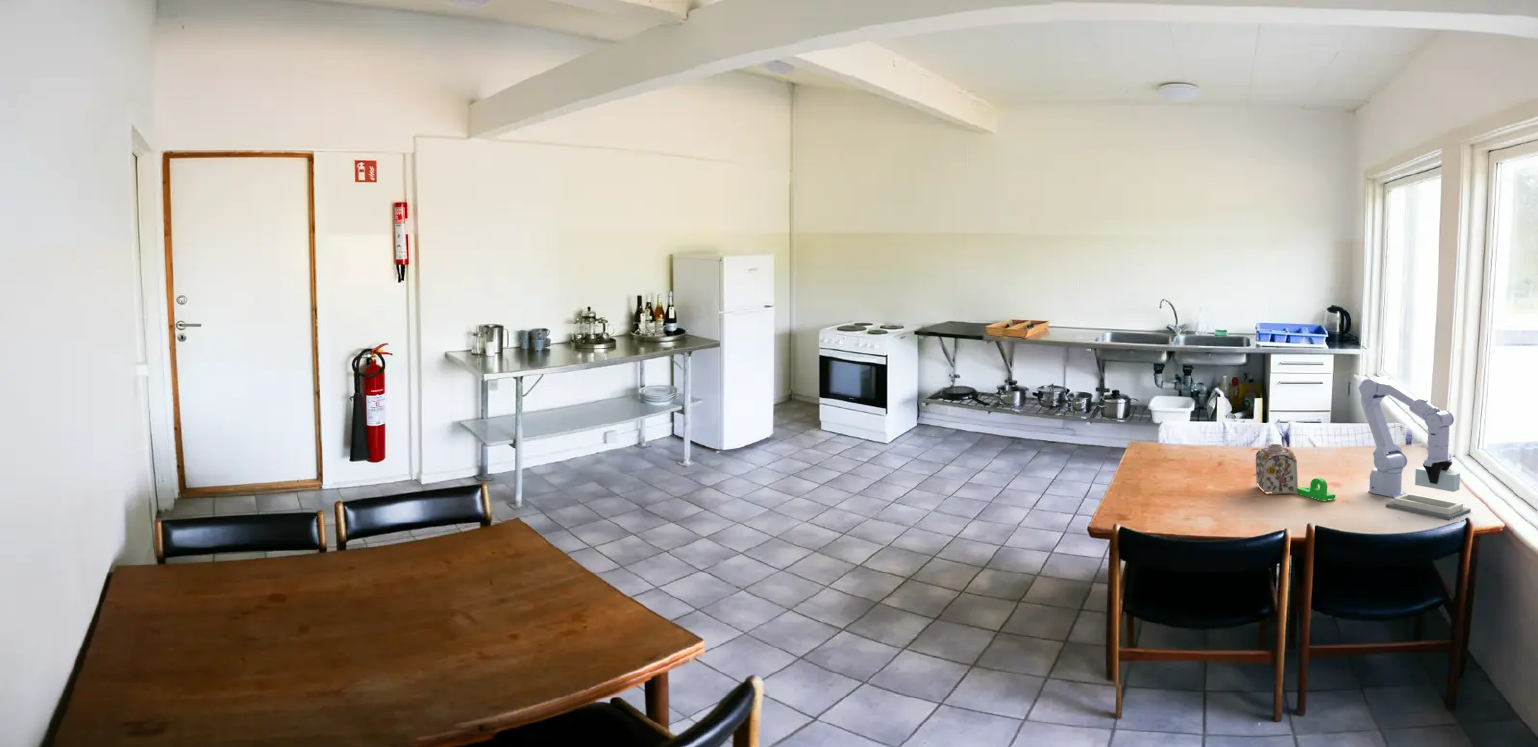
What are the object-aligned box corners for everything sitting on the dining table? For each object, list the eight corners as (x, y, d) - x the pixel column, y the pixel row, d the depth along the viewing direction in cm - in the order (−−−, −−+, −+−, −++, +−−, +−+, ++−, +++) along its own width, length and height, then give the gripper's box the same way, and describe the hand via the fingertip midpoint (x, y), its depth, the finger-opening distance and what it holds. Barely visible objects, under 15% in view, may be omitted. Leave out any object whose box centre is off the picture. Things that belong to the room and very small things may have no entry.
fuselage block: (1415, 484, 320) (1415, 468, 319) (1420, 482, 322) (1421, 466, 321) (1453, 491, 310) (1454, 475, 309) (1459, 489, 312) (1460, 473, 311)
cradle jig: (1386, 506, 320) (1386, 498, 319) (1407, 498, 326) (1407, 491, 326) (1449, 520, 302) (1450, 511, 302) (1470, 511, 309) (1470, 503, 308)
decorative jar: (1256, 486, 354) (1254, 442, 351) (1288, 485, 350) (1287, 440, 348) (1264, 495, 342) (1263, 449, 340) (1298, 494, 339) (1297, 448, 337)
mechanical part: (1335, 499, 331) (1336, 479, 330) (1321, 501, 329) (1323, 480, 328) (1308, 491, 342) (1309, 471, 341) (1295, 492, 341) (1296, 472, 340)
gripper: (1440, 450, 307) (1439, 488, 309) (1461, 443, 314) (1459, 480, 316) (1418, 447, 313) (1416, 484, 315) (1438, 440, 320) (1437, 476, 322)
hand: (1436, 482), depth 316 cm, fingers closed on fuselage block, 4 cm apart
